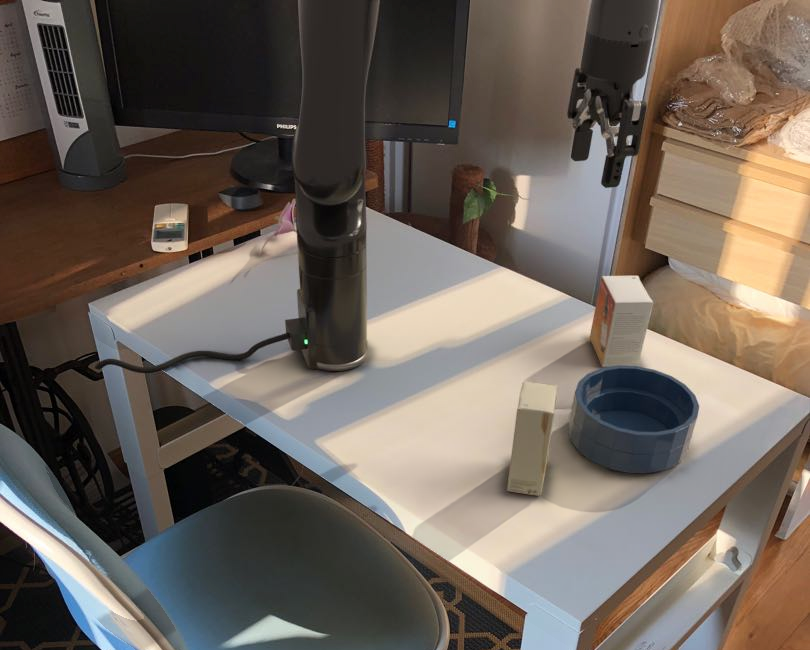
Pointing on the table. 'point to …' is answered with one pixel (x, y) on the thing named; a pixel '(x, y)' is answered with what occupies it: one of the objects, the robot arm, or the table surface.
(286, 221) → the lily
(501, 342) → the table surface
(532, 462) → the cosmetic box
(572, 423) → the bowl
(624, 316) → the small box
